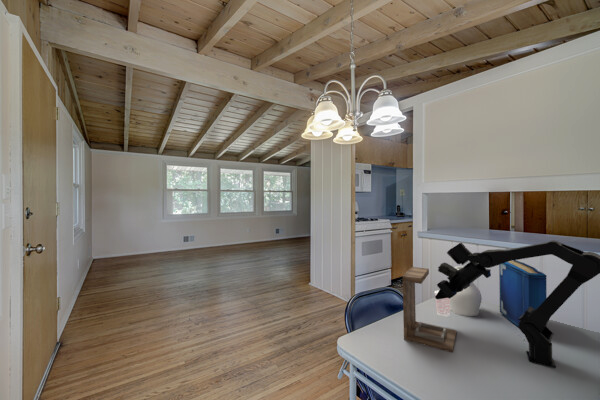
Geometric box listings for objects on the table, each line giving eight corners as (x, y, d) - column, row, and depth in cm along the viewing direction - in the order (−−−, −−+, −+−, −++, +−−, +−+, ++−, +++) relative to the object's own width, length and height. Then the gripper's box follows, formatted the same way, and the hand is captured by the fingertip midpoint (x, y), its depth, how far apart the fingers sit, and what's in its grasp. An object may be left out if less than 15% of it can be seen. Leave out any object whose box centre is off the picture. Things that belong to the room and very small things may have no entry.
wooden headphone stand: (452, 352, 92) (451, 282, 92) (403, 339, 101) (402, 275, 101) (456, 333, 105) (455, 271, 106) (413, 323, 114) (412, 266, 115)
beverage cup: (440, 310, 114) (439, 277, 114) (455, 315, 109) (453, 280, 109) (431, 313, 111) (430, 279, 111) (446, 319, 106) (444, 283, 106)
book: (551, 339, 100) (549, 271, 100) (529, 337, 101) (527, 271, 101) (516, 314, 121) (515, 259, 121) (499, 313, 122) (497, 258, 123)
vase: (476, 306, 131) (475, 265, 131) (486, 318, 117) (485, 273, 117) (443, 303, 135) (442, 263, 135) (450, 315, 122) (449, 271, 122)
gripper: (460, 254, 113) (434, 275, 121) (441, 261, 101) (414, 284, 109) (482, 276, 107) (454, 297, 115) (465, 286, 95) (435, 309, 103)
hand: (439, 296), depth 111 cm, fingers closed on beverage cup, 6 cm apart
